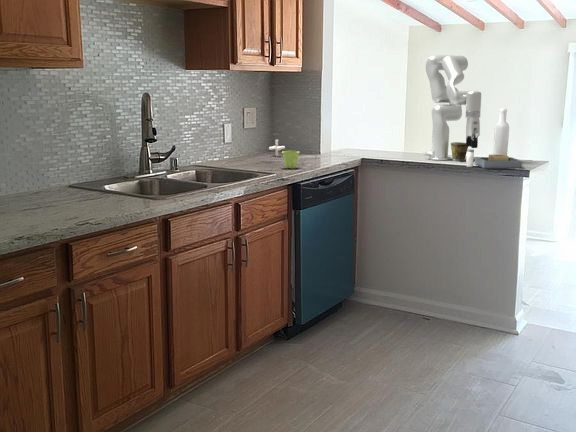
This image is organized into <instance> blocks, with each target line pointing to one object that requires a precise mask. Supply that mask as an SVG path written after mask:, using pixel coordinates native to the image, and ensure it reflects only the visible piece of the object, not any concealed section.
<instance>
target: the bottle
mask: <svg viewBox="0 0 576 432" xmlns="http://www.w3.org/2000/svg"><path fill="white" fill-rule="evenodd" d="M507 112H508V109H507V108H502V107H500V108H499V119H498V121H497V122H496V124H495V125H494V134H493V135H494V136H493V146H492V147H493V149H492V155H506V156H508V153H509V152H508V151H509V149H508V148H509V137H510V125H509V123H508V122H507Z"/></svg>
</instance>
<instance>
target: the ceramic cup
mask: <svg viewBox="0 0 576 432" xmlns="http://www.w3.org/2000/svg"><path fill="white" fill-rule="evenodd" d="M450 149H451V157H452V161H453V160H454V161H453V162H464V160H465V161H466V158H467V149H469V147H466V142H461V141H460V142H458V141H457V142H450Z"/></svg>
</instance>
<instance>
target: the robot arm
mask: <svg viewBox="0 0 576 432" xmlns="http://www.w3.org/2000/svg"><path fill="white" fill-rule="evenodd" d="M468 66H469V61H468V59H467V58H466V56H464V55H454V54H453V55H448V54H446V55H444V54H436V55H431V56H429V57H427V59H426V62H425V71H426V75H427V78H428V80H429V87H430V93H431V99H432V102H434V103H435V104H437V105H435V106H433V107H432V109H431V118H432V137H431V150H430V151H428V152H427V151H426V152H423V153H422V154H423V156H425V157H427V156H428V160H434V161H449V160H451V157H452V156H449V145H450V143H449V142H450V126H449V124H448V123H447V122H457V121H459V120H461V118H462V117H463V116H462V115H463V109H462V106H465V118H466V127H465V135H466V136H465V137H466V138H465V143H466V147H468V148H469V147H470V149H477V148H478V144H479V142H478V141H479V140H478V139H479V137H480V135H481V132H480V131H481V124H480V121H481V120H480V119H481V110H482V109H481V107H482V92H481V91H478V90H475V91H473V90H459V89H458V88H457V87H455V86H457V85H459V84H461V83H462V82H463V81H464V79H465V74H464V72H463V71H467V68H468ZM441 71H444V73H445V74H446V78H447V79H448V82H447V85H446V81H445V78H444V76H443V74H442V73H441Z"/></svg>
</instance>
